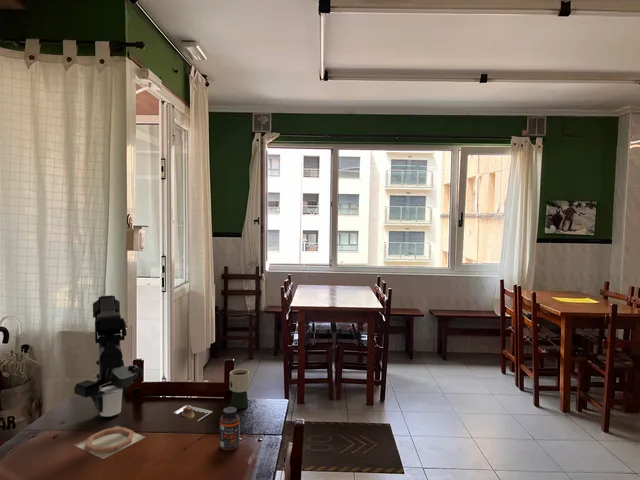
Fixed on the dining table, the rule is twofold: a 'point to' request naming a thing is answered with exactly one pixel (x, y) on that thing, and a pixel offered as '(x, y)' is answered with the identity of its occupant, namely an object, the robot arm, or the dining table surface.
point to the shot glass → (111, 400)
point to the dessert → (191, 411)
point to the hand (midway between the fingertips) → (110, 408)
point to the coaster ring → (109, 448)
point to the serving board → (109, 442)
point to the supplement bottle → (229, 429)
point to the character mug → (239, 388)
